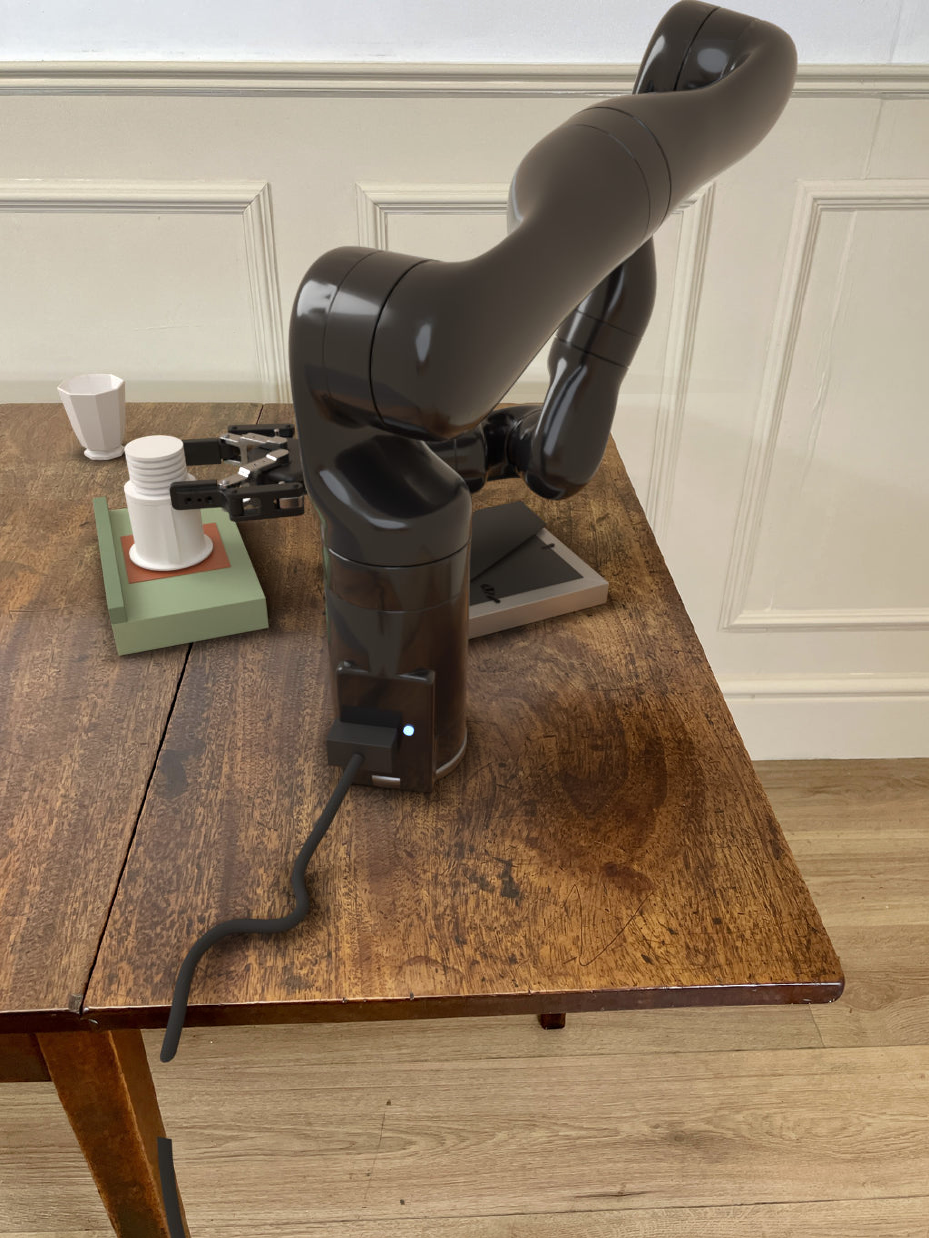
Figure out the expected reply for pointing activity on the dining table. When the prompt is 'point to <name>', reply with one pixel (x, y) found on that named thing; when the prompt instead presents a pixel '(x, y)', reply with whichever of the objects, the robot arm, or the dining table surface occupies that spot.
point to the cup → (96, 413)
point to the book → (178, 587)
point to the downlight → (161, 507)
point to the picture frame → (524, 572)
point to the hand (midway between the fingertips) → (173, 474)
